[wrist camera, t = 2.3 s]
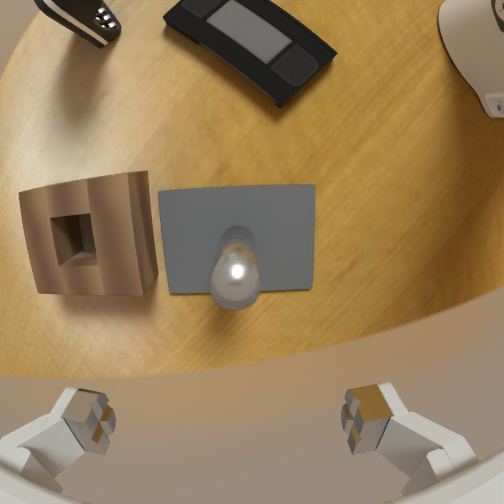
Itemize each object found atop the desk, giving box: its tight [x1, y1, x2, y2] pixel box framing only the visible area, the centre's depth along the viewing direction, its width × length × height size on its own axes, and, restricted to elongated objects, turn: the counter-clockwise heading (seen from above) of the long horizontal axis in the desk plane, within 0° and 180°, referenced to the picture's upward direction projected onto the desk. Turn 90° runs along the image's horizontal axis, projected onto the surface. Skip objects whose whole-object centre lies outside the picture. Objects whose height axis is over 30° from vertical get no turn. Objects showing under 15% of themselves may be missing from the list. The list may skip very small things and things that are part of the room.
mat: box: [158, 185, 315, 293], centre depth 27 cm, size 14×10×1 cm
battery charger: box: [34, 0, 121, 48], centre depth 15 cm, size 7×4×11 cm, turn 33°
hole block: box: [19, 170, 158, 296], centre depth 24 cm, size 12×10×5 cm
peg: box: [210, 226, 260, 311], centre depth 22 cm, size 3×3×10 cm
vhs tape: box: [163, 0, 338, 108], centre depth 21 cm, size 8×14×2 cm, turn 48°
